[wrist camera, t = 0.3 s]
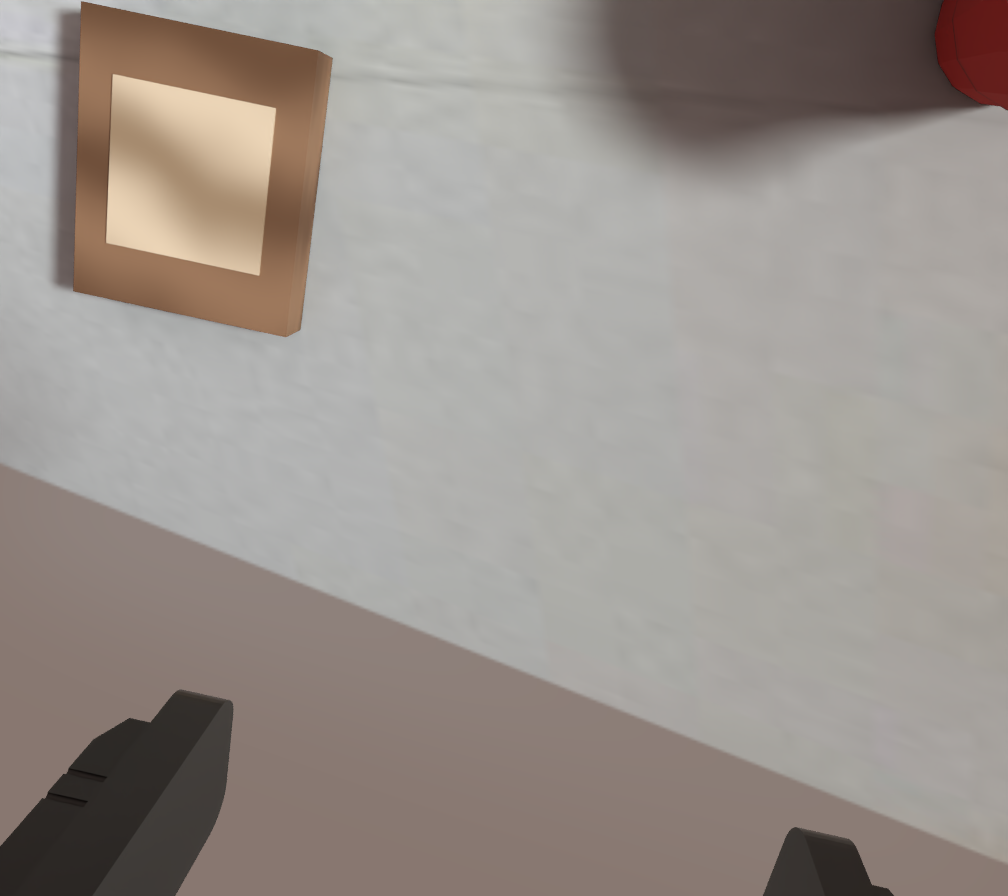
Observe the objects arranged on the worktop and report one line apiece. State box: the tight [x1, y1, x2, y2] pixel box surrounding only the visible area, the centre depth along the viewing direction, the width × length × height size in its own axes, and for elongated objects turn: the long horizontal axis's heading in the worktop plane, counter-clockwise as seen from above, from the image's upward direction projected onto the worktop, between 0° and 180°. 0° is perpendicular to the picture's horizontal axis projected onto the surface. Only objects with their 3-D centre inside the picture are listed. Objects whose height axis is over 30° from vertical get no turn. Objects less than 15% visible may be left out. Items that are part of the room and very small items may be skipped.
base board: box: [73, 1, 333, 337], centre depth 36 cm, size 12×10×2 cm
